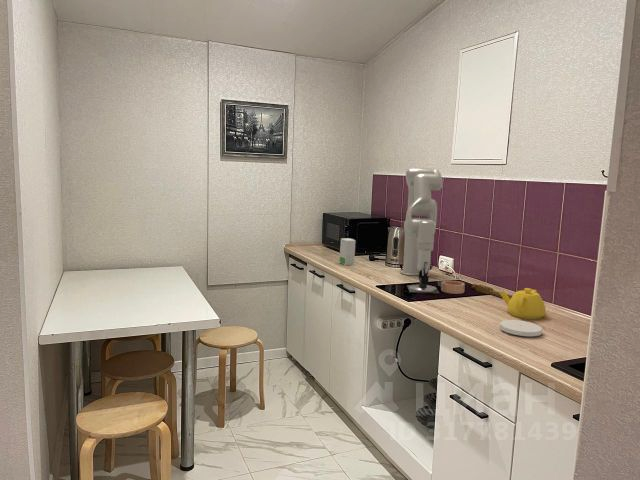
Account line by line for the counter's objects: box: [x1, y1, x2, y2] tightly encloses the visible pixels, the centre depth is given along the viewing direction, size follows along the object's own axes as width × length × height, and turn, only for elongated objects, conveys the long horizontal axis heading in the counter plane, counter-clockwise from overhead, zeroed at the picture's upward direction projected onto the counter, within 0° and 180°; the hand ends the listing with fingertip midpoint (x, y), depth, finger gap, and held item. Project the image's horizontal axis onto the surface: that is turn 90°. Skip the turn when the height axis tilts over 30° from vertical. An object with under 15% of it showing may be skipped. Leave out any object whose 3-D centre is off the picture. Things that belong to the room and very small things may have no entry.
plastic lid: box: [499, 319, 543, 337], centre depth 172 cm, size 14×14×2 cm
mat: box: [406, 284, 440, 294], centre depth 232 cm, size 14×14×1 cm
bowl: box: [440, 280, 466, 295], centre depth 229 cm, size 10×10×4 cm
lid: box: [408, 277, 438, 293], centre depth 231 cm, size 13×13×5 cm
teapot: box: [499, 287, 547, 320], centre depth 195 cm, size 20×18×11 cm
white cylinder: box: [338, 237, 357, 266], centre depth 294 cm, size 8×7×16 cm
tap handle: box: [471, 283, 514, 299], centre depth 225 cm, size 3×3×30 cm
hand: (423, 281), depth 231 cm, fingers open, 9 cm apart
